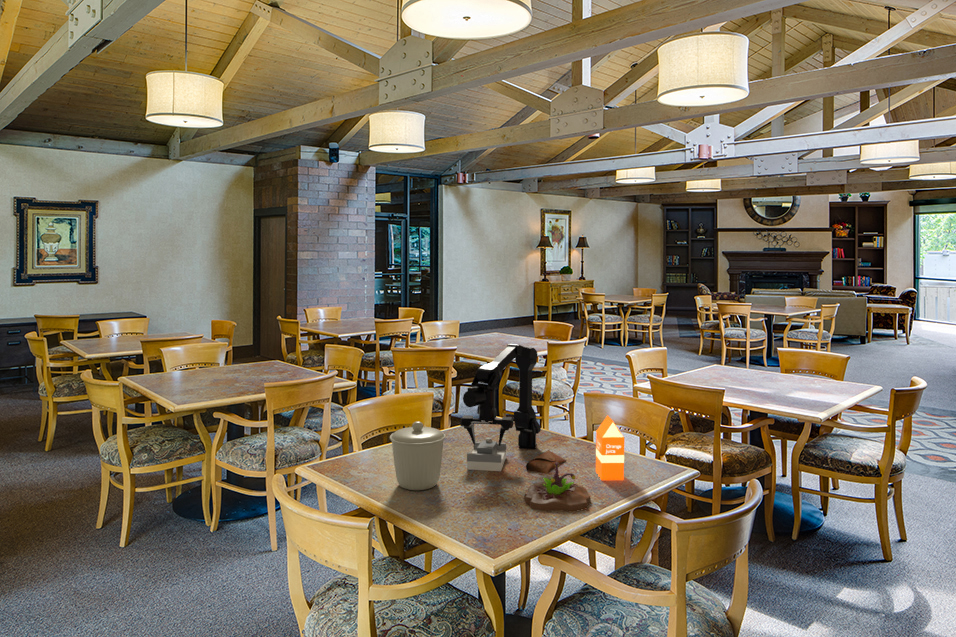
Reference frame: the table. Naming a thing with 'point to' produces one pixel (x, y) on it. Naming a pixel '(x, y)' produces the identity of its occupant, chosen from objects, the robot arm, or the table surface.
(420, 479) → the canister
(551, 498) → the plant
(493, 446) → the grey knobbed block
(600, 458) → the orange juice
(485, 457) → the stand
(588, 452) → the table surface
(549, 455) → the sunglasses case
